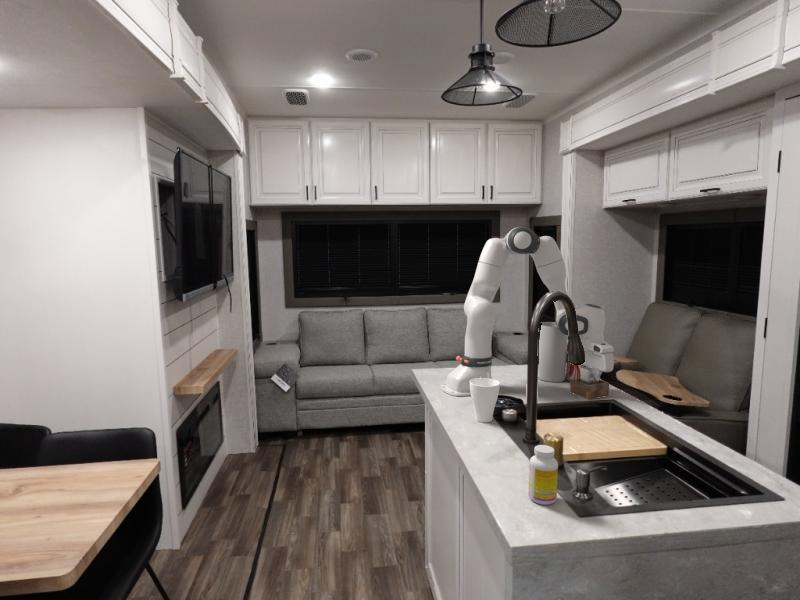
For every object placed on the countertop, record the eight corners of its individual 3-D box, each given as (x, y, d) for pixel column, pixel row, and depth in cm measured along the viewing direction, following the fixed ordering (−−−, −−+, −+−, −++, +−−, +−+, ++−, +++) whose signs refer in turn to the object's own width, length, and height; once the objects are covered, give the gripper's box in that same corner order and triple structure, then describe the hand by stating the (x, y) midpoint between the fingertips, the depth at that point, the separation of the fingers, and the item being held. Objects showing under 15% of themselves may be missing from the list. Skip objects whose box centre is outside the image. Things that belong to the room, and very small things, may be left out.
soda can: (580, 378, 228) (581, 350, 227) (584, 382, 221) (585, 354, 219) (564, 377, 229) (565, 349, 227) (567, 382, 222) (569, 353, 220)
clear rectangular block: (586, 394, 202) (588, 369, 201) (579, 391, 206) (580, 367, 204) (598, 392, 204) (599, 368, 203) (590, 389, 208) (592, 366, 207)
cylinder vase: (550, 373, 236) (552, 321, 232) (571, 380, 225) (574, 325, 222) (530, 377, 229) (532, 323, 226) (551, 384, 219) (554, 327, 215)
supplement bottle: (562, 503, 120) (564, 452, 119) (537, 507, 119) (540, 456, 117) (546, 490, 127) (548, 441, 125) (523, 493, 125) (525, 444, 123)
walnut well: (588, 399, 198) (588, 386, 198) (569, 392, 207) (570, 379, 207) (608, 396, 203) (609, 382, 202) (589, 389, 212) (590, 376, 211)
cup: (473, 412, 183) (474, 376, 181) (502, 417, 178) (503, 380, 176) (464, 421, 173) (465, 384, 172) (494, 427, 169) (495, 388, 167)
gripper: (567, 339, 210) (565, 371, 212) (605, 350, 192) (603, 384, 194) (578, 338, 213) (577, 370, 215) (617, 348, 195) (615, 383, 196)
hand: (589, 377), depth 204 cm, fingers open, 6 cm apart
